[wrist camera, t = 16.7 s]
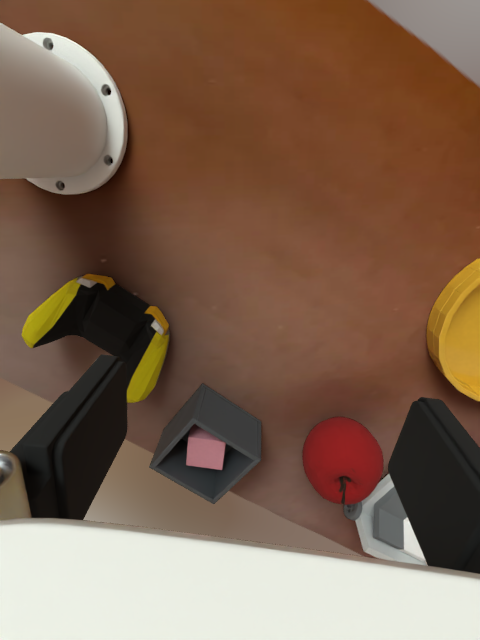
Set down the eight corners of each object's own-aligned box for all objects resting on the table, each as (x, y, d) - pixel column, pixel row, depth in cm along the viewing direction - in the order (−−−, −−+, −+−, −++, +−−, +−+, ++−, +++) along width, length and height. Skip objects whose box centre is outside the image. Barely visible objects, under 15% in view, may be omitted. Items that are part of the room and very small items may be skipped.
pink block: (192, 439, 45) (185, 465, 41) (195, 412, 43) (188, 437, 39) (225, 443, 45) (222, 470, 41) (229, 417, 43) (225, 442, 39)
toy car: (477, 484, 33) (562, 531, 35) (431, 418, 42) (500, 457, 44) (359, 577, 40) (435, 613, 42) (341, 503, 49) (404, 534, 51)
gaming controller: (152, 385, 43) (193, 327, 39) (137, 414, 38) (183, 349, 34) (40, 320, 40) (74, 251, 37) (8, 341, 35) (44, 263, 31)
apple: (358, 465, 46) (382, 538, 37) (291, 454, 46) (299, 525, 37) (379, 410, 42) (412, 476, 33) (307, 398, 42) (320, 461, 33)
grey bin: (163, 428, 45) (148, 467, 39) (202, 383, 42) (192, 417, 36) (219, 462, 47) (213, 504, 41) (261, 421, 44) (261, 460, 38)
